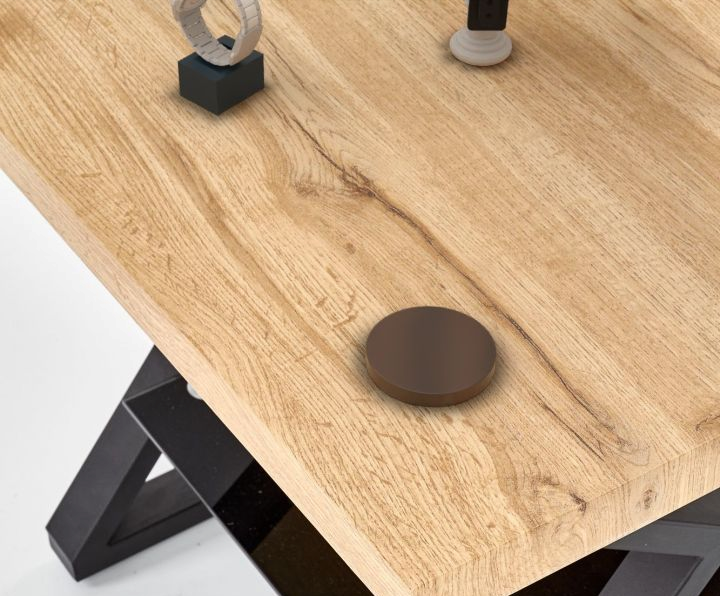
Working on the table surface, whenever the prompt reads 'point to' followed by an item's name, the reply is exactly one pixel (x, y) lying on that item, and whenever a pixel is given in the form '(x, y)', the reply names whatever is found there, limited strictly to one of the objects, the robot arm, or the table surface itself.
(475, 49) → the chess piece
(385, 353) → the walnut chip
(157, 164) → the table surface
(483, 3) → the robot arm
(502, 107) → the table surface
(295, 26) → the table surface
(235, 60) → the watch
